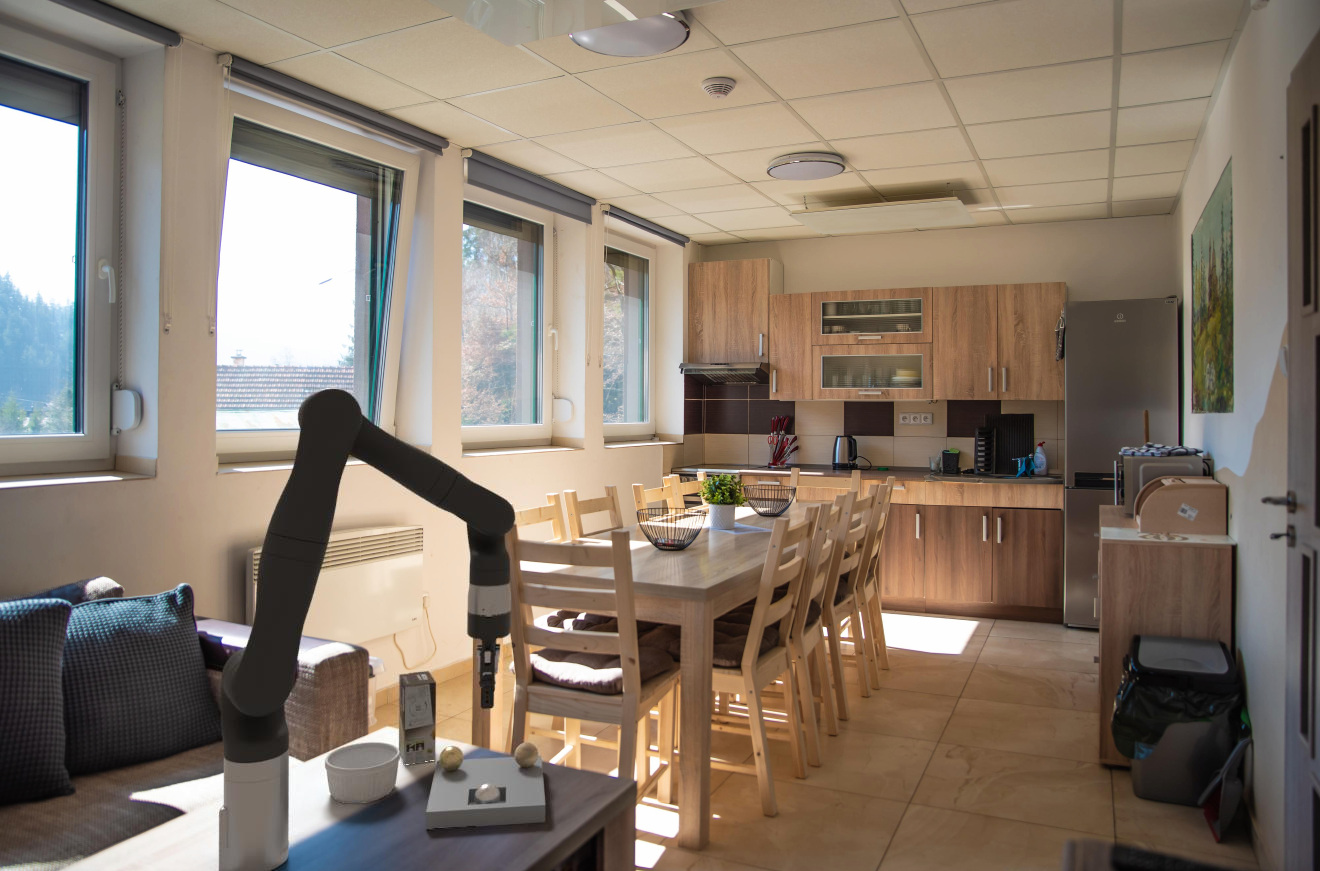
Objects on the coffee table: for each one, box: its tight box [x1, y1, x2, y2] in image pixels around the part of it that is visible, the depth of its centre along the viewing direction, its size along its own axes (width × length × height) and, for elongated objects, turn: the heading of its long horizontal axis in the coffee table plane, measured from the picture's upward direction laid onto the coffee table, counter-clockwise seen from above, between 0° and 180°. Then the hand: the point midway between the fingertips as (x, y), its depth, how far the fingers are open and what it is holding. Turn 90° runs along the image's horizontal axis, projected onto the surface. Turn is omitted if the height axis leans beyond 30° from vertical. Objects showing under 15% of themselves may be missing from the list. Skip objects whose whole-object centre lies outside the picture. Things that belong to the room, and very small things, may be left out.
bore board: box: [425, 755, 546, 829], centre depth 159 cm, size 20×22×3 cm
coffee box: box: [398, 670, 437, 766], centre depth 178 cm, size 9×6×16 cm
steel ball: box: [474, 783, 500, 805], centre depth 153 cm, size 4×4×4 cm
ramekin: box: [324, 741, 401, 804], centre depth 161 cm, size 13×13×7 cm
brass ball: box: [438, 745, 465, 771], centre depth 164 cm, size 4×4×4 cm
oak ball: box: [514, 741, 539, 767], centre depth 166 cm, size 4×4×4 cm
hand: (488, 699), depth 153 cm, fingers open, 8 cm apart
